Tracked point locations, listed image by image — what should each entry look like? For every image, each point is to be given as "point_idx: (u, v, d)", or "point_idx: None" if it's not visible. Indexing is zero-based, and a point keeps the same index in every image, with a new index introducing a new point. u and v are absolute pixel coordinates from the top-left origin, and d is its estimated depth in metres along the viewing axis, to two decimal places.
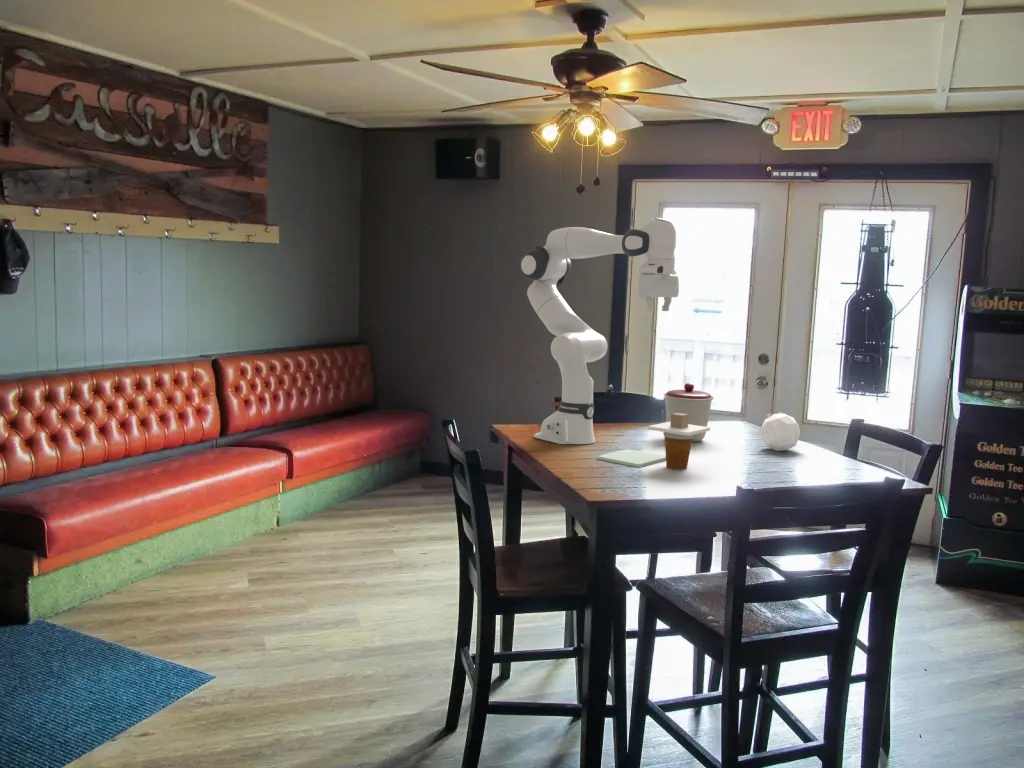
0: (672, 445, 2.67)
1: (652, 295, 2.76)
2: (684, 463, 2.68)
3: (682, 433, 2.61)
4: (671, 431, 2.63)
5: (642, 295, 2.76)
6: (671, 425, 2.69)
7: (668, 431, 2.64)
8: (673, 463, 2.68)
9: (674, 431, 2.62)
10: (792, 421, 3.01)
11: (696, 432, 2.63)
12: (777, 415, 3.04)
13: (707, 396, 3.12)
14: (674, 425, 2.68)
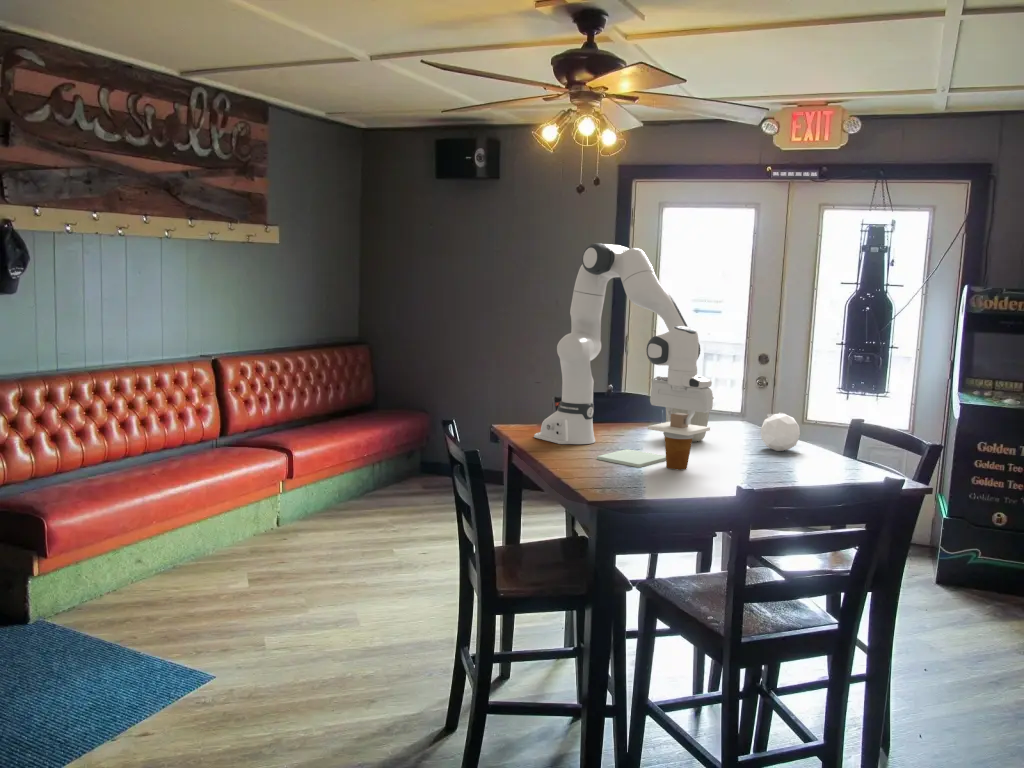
0: (672, 445, 2.67)
1: None
2: (684, 463, 2.68)
3: (682, 433, 2.61)
4: (671, 431, 2.63)
5: (708, 411, 2.62)
6: (671, 425, 2.69)
7: (668, 431, 2.64)
8: (673, 463, 2.68)
9: (674, 431, 2.62)
10: (792, 421, 3.01)
11: (696, 432, 2.63)
12: (777, 415, 3.04)
13: None
14: (674, 425, 2.68)
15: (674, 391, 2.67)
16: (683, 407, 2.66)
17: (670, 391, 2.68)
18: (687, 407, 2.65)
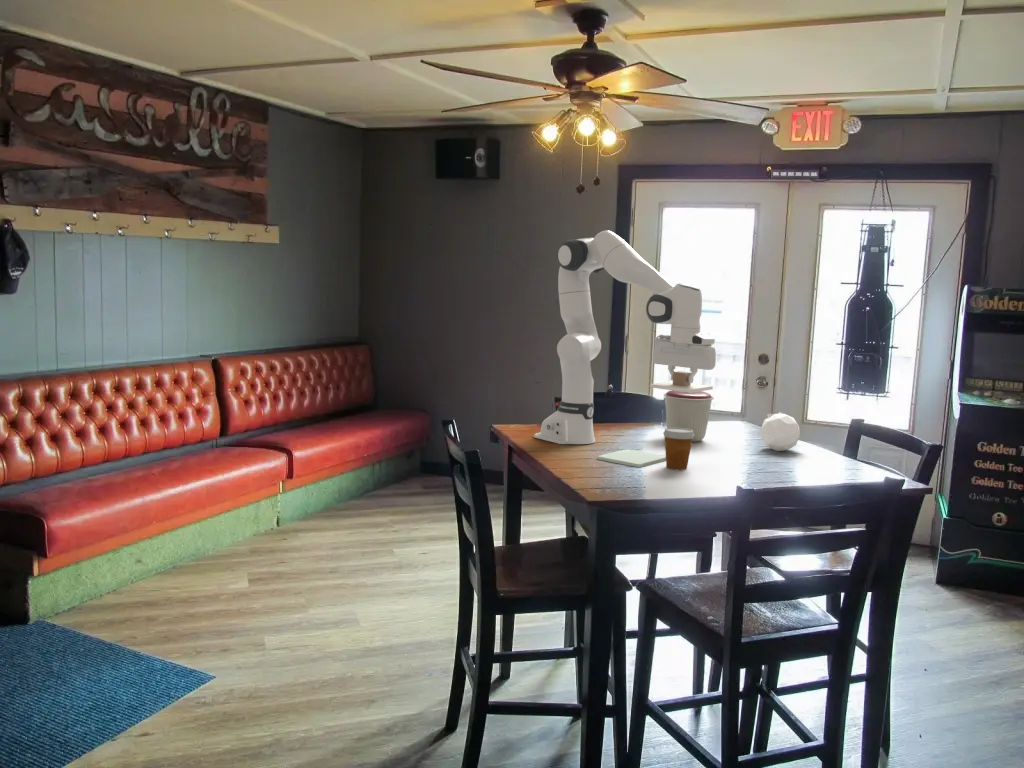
0: (672, 445, 2.67)
1: None
2: (684, 463, 2.68)
3: (684, 390, 2.59)
4: (673, 388, 2.61)
5: (711, 368, 2.60)
6: (673, 383, 2.67)
7: (670, 389, 2.62)
8: (673, 463, 2.68)
9: (676, 388, 2.61)
10: (792, 421, 3.01)
11: (699, 390, 2.62)
12: (777, 415, 3.04)
13: (707, 396, 3.12)
14: (676, 383, 2.66)
15: (677, 349, 2.66)
16: (686, 365, 2.64)
17: (673, 349, 2.67)
18: (689, 365, 2.63)
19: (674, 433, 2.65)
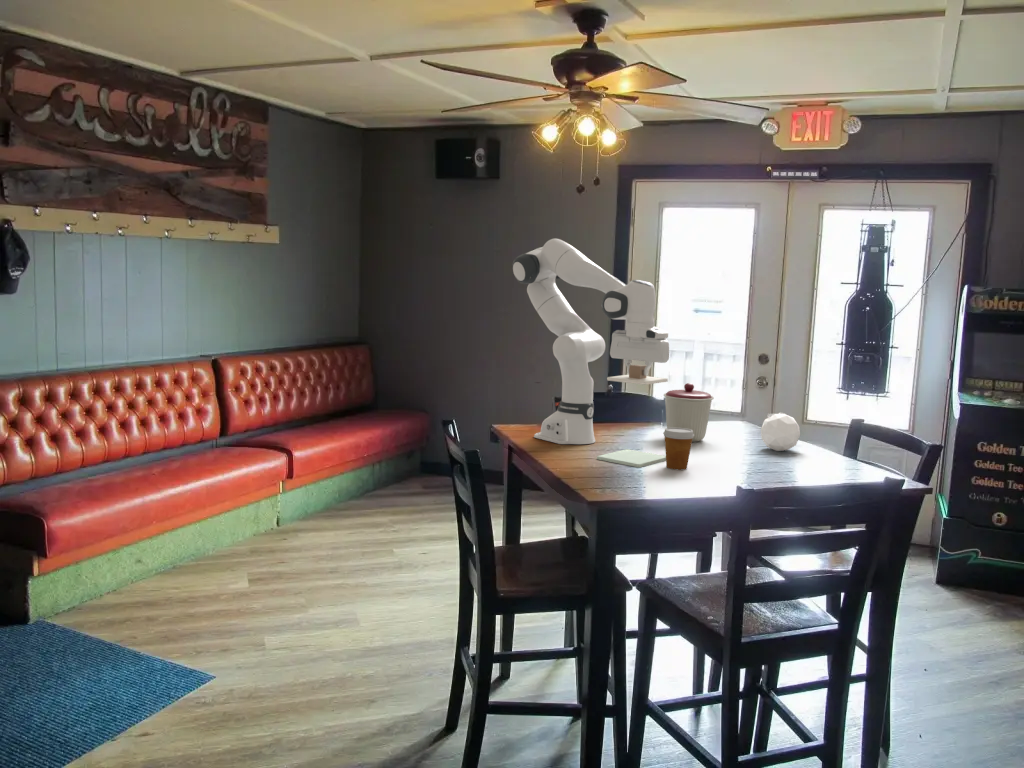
0: (672, 445, 2.67)
1: None
2: (684, 463, 2.68)
3: (639, 382, 2.69)
4: (629, 381, 2.71)
5: (664, 361, 2.70)
6: (630, 376, 2.77)
7: (626, 381, 2.72)
8: (673, 463, 2.68)
9: (632, 381, 2.71)
10: (792, 421, 3.01)
11: (653, 382, 2.72)
12: (777, 415, 3.04)
13: (707, 396, 3.12)
14: (632, 376, 2.76)
15: (632, 343, 2.76)
16: (641, 358, 2.74)
17: (628, 343, 2.77)
18: (644, 359, 2.73)
19: (674, 433, 2.65)
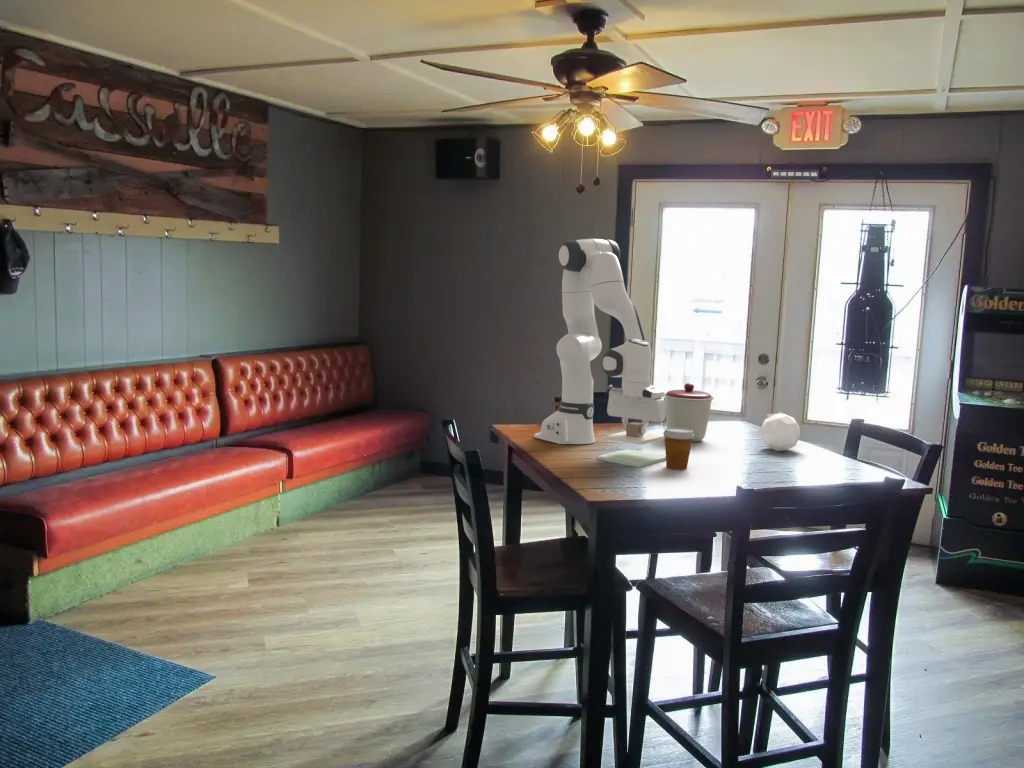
0: (672, 445, 2.67)
1: None
2: (684, 463, 2.68)
3: (636, 442, 2.71)
4: (626, 440, 2.73)
5: (661, 420, 2.72)
6: (627, 434, 2.79)
7: (623, 440, 2.74)
8: (673, 463, 2.68)
9: (629, 440, 2.73)
10: (792, 421, 3.01)
11: (650, 441, 2.74)
12: (777, 415, 3.04)
13: (707, 396, 3.12)
14: (630, 434, 2.78)
15: (629, 402, 2.78)
16: (637, 417, 2.76)
17: (625, 402, 2.79)
18: (641, 417, 2.75)
19: (674, 433, 2.65)
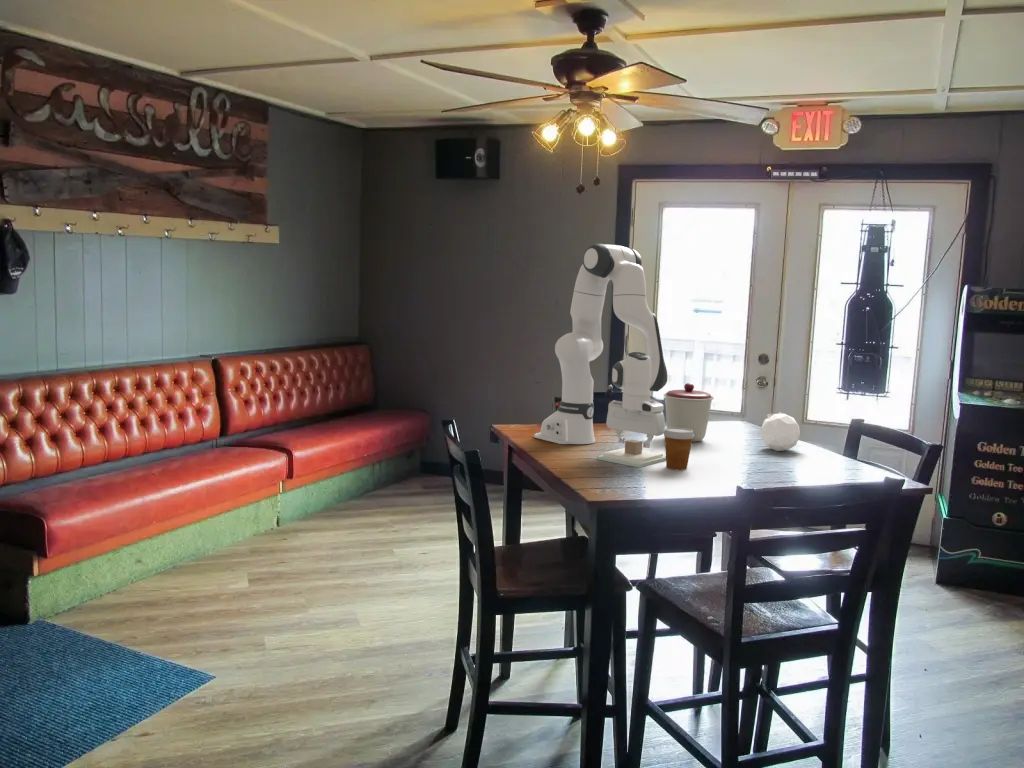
0: (672, 445, 2.67)
1: None
2: (684, 463, 2.68)
3: (634, 460, 2.72)
4: (624, 458, 2.75)
5: (660, 434, 2.73)
6: (625, 452, 2.80)
7: (622, 458, 2.75)
8: (673, 463, 2.68)
9: (627, 458, 2.74)
10: (792, 421, 3.01)
11: (648, 459, 2.75)
12: (777, 415, 3.04)
13: (707, 396, 3.12)
14: (628, 452, 2.79)
15: (628, 415, 2.79)
16: (637, 430, 2.77)
17: (625, 414, 2.80)
18: (640, 431, 2.76)
19: (674, 433, 2.65)
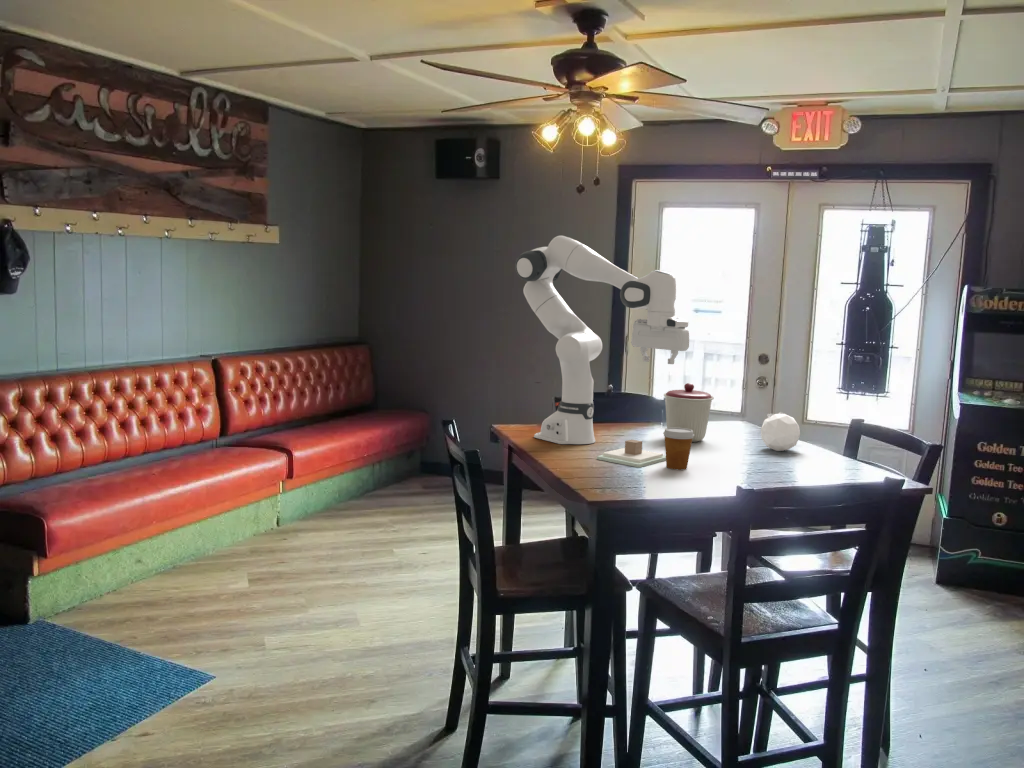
0: (672, 445, 2.67)
1: None
2: (684, 463, 2.68)
3: (634, 460, 2.72)
4: (624, 458, 2.75)
5: (684, 349, 2.76)
6: (625, 452, 2.80)
7: (622, 458, 2.75)
8: (673, 463, 2.68)
9: (627, 458, 2.74)
10: (792, 421, 3.01)
11: (648, 459, 2.75)
12: (777, 415, 3.04)
13: (707, 396, 3.12)
14: (628, 452, 2.79)
15: (653, 332, 2.82)
16: (661, 347, 2.80)
17: (649, 332, 2.83)
18: (665, 347, 2.79)
19: (674, 433, 2.65)
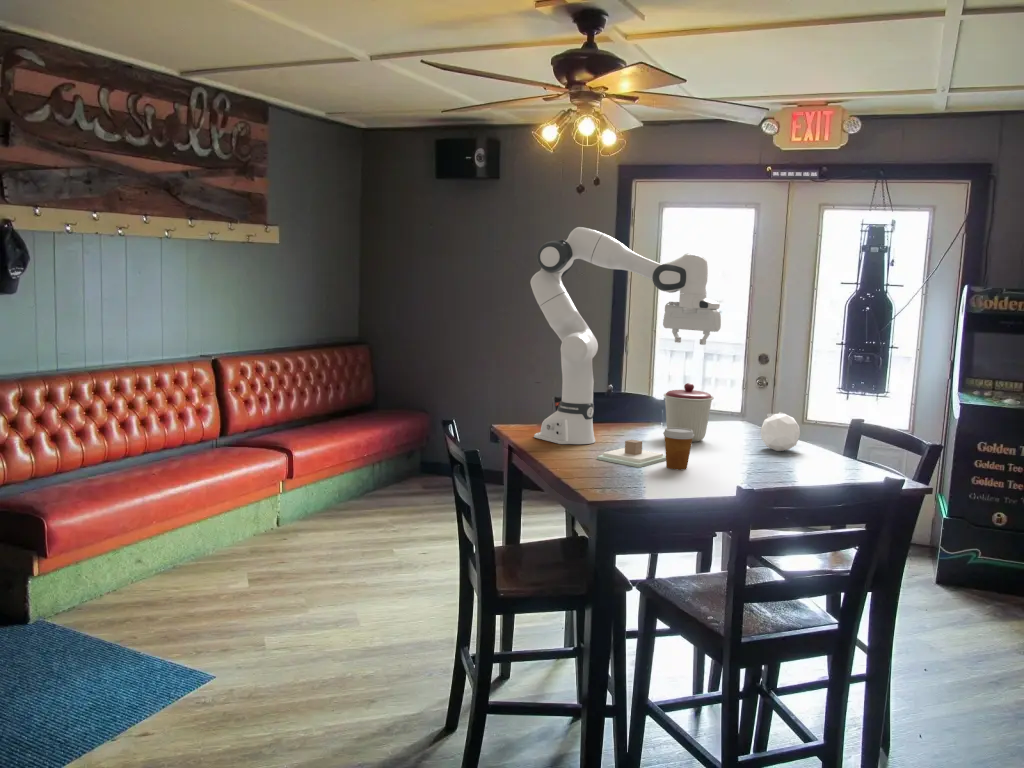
0: (672, 445, 2.67)
1: None
2: (684, 463, 2.68)
3: (634, 460, 2.72)
4: (624, 458, 2.75)
5: (716, 330, 2.86)
6: (625, 452, 2.80)
7: (622, 458, 2.75)
8: (673, 463, 2.68)
9: (627, 458, 2.74)
10: (792, 421, 3.01)
11: (648, 459, 2.75)
12: (777, 415, 3.04)
13: (707, 396, 3.12)
14: (628, 452, 2.79)
15: (685, 314, 2.92)
16: (693, 328, 2.90)
17: (681, 314, 2.93)
18: (697, 328, 2.89)
19: (674, 433, 2.65)
